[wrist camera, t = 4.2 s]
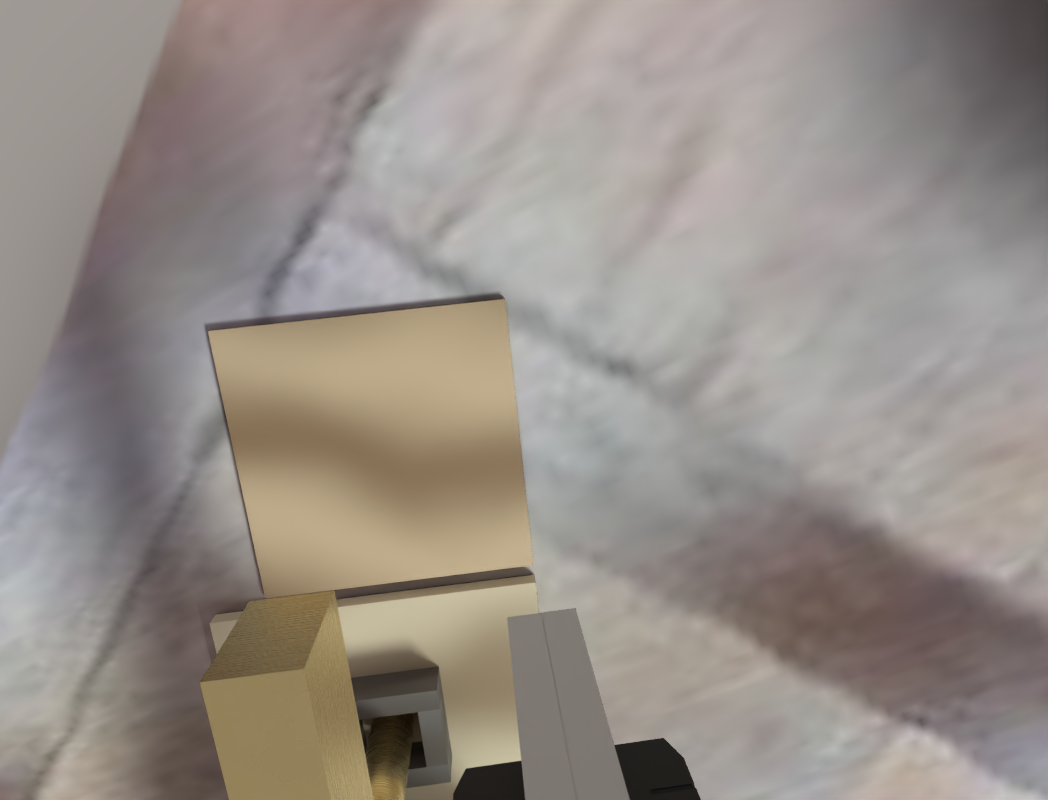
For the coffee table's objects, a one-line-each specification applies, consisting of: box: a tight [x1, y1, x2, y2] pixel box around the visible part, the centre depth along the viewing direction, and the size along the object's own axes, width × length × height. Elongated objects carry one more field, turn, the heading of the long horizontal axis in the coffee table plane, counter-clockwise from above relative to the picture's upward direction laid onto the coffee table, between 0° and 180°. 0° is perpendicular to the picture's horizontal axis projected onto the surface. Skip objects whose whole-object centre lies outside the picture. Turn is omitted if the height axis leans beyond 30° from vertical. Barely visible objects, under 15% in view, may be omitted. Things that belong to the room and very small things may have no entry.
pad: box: [208, 299, 533, 599], centre depth 25 cm, size 10×10×1 cm
